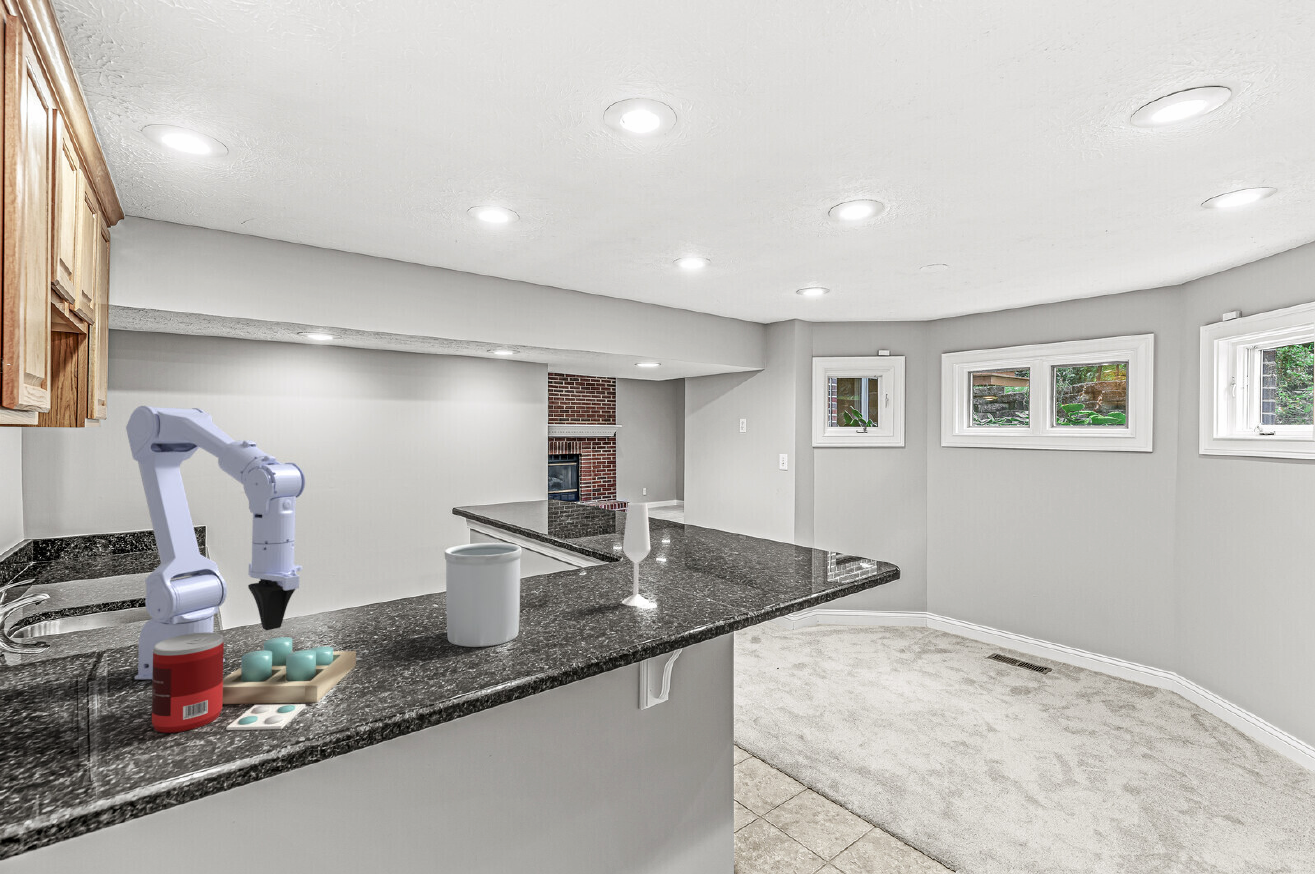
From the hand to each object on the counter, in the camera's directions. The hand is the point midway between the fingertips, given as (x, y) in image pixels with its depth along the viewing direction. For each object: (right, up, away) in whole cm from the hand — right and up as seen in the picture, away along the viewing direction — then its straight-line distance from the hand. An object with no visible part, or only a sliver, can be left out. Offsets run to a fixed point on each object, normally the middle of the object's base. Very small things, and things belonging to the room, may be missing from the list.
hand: (271, 628), depth 99 cm
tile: (+6, -10, -10) cm, 15 cm away
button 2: (-2, -7, +5) cm, 9 cm away
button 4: (+4, -9, +5) cm, 11 cm away
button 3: (+5, -7, -1) cm, 9 cm away
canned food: (-5, -10, -11) cm, 16 cm away
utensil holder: (+25, -10, +27) cm, 39 cm away
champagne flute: (+55, -11, +55) cm, 78 cm away
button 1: (-1, -7, -2) cm, 7 cm away
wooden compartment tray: (+2, -9, +2) cm, 10 cm away
